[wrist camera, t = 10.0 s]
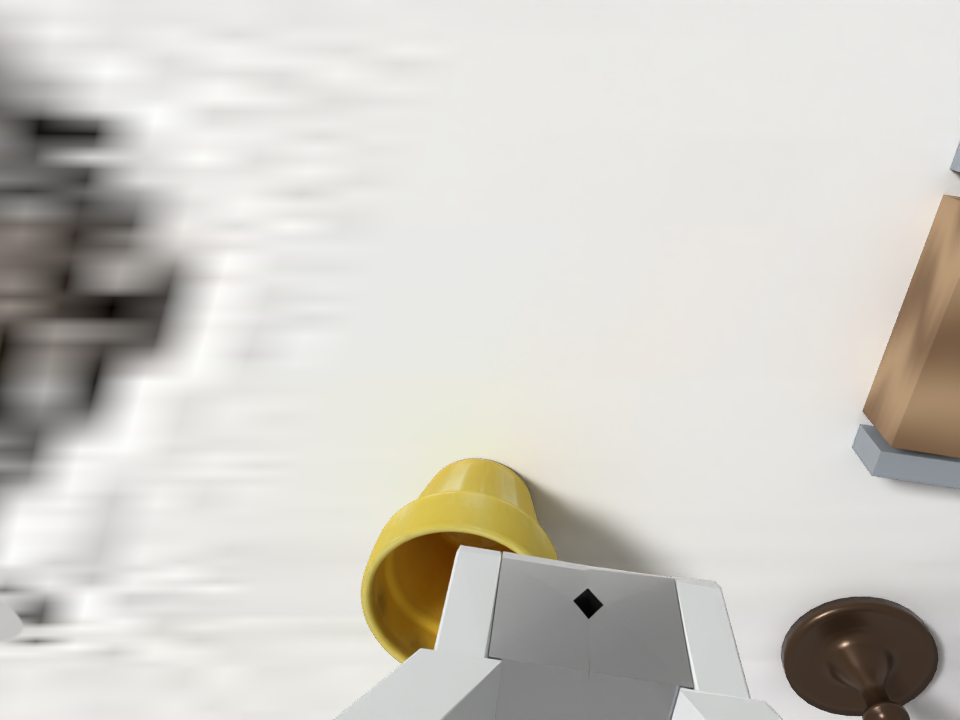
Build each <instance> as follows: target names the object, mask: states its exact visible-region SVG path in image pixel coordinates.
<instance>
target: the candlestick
mask: <svg viewBox="0 0 960 720" xmlns="http://www.w3.org/2000/svg"><path fill="white" fill-rule="evenodd" d="M781 659H782V664H783V668H784V671H785V674H786V677H787V679H788V681H789V683H790V685H791V687H792V689H793V690H794V691H795V692H796V693H797V694H798V696H799V697H801V698H802V699H803V700H805V701H806V702H807V703H808V704H810V705H812V706H814V707H816V708H818V709H820V710H824V711H827V712H830V713H833V714H839V715H845V716H862V718H863V720H910V718H909V715H908V713H907V711H906V709H905V708H904V707H903V705H904V704H906V703H908V702H909V701H911V700H913V699H914V698H915V697H917V696H918V695H919V694H920V693H921V692H922V691H924V690H925V688H926V687H927V686H928V684H929V683H930V682H931V680H932V678H933V676H934V674H935V672H936V670H937V664H938V651H937V647H936V644H935V642H934V639H933V637H932V635H931V634H930V632H929V631H928V629H927V627H926V626H925V625H924V623H923V622H922V621H921V619H920V618H919V617H918V616H917V615H915V614H914V613H913V612H912V611H910V610H909V609H907V608H905V607H903V606H902V605H900V604H898V603H895V602H892V601H889V600H885V599H881V598H874V597H849V598H842V599H837V600H834V601H830V602H827V603H824V604H822V605H820V606H818V607H816V608H814V609H811V610H810V611H809V612H807V613H806V614H804V615H803V616H801V617H800V618H799V619H798V620H797V621H796V622H795V623H794V624H793V625H792V626H791V628H790V630H789V631H788V633H787V634H786V636H785V639H784V641H783V644H782V651H781Z"/></svg>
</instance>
